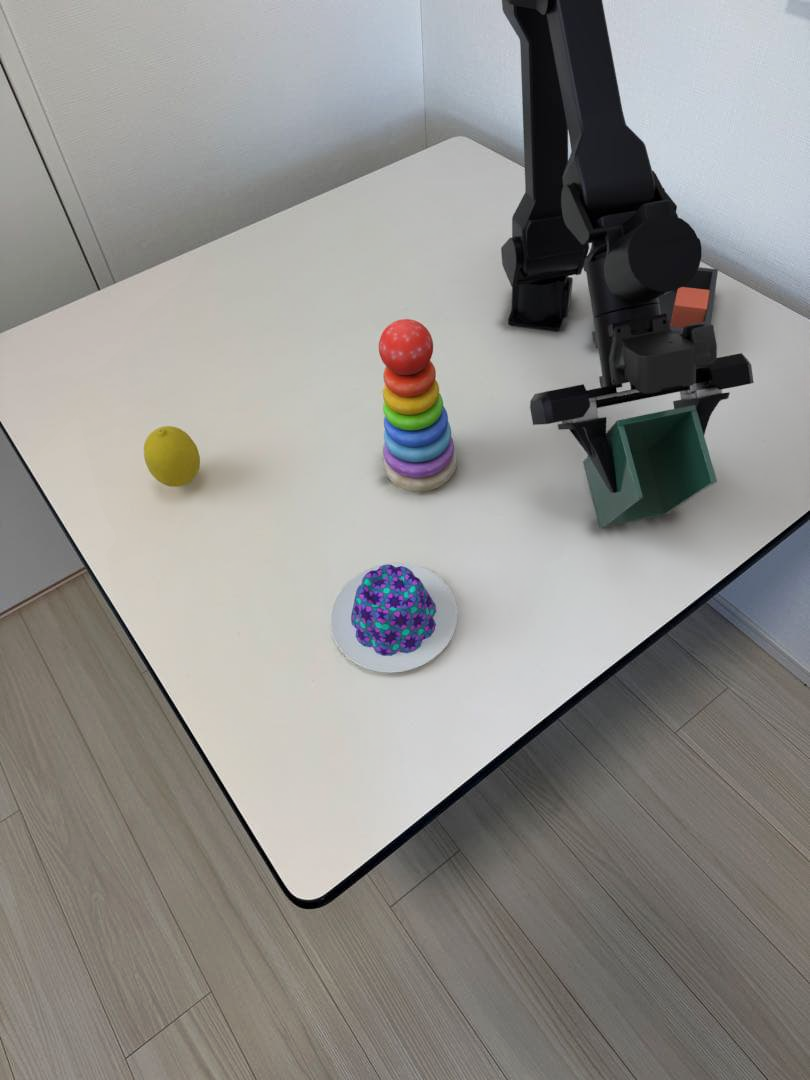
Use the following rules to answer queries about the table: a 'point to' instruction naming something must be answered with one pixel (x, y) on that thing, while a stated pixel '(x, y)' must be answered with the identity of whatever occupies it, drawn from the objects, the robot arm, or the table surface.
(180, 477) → the lemon
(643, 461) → the pour tub
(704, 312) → the toy cube
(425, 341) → the stacking toy
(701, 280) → the bin
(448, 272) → the table surface
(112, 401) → the table surface
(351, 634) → the pudding
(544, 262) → the robot arm
